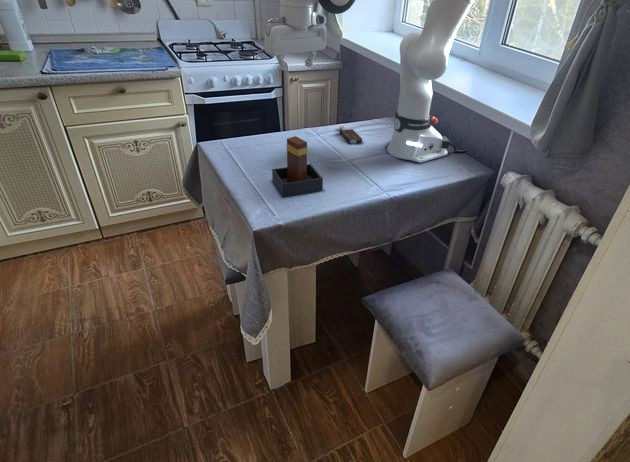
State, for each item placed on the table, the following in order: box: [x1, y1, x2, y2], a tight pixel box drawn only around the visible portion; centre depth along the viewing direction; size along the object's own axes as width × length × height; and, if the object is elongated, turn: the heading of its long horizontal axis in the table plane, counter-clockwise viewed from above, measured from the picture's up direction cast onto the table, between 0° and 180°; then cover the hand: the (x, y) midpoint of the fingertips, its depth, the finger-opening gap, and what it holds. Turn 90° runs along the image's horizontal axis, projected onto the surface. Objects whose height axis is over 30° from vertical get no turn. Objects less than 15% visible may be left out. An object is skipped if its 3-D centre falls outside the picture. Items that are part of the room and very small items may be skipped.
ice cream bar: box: [339, 125, 363, 145], centre depth 163 cm, size 5×2×15 cm
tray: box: [271, 163, 324, 198], centre depth 128 cm, size 12×10×4 cm
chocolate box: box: [286, 135, 308, 183], centre depth 124 cm, size 3×5×14 cm, turn 47°
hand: (296, 68), depth 127 cm, fingers open, 8 cm apart
